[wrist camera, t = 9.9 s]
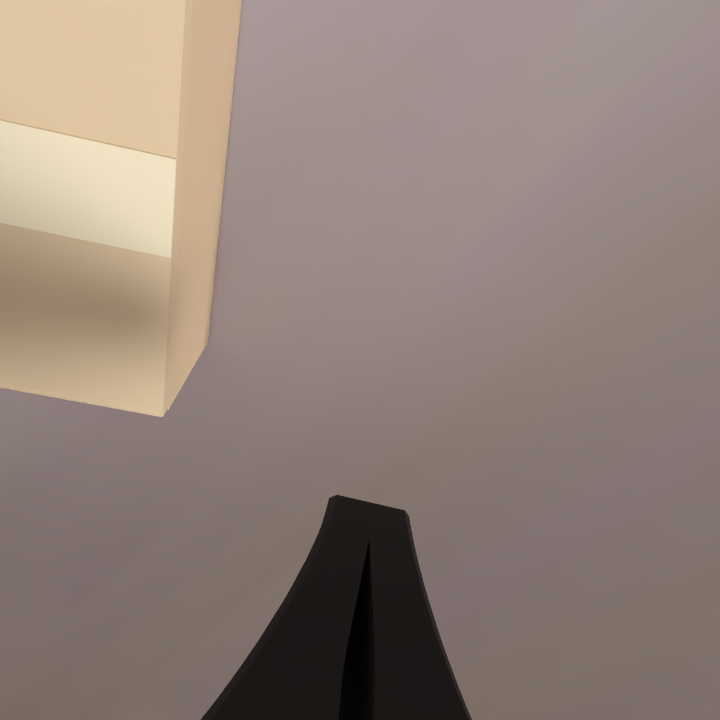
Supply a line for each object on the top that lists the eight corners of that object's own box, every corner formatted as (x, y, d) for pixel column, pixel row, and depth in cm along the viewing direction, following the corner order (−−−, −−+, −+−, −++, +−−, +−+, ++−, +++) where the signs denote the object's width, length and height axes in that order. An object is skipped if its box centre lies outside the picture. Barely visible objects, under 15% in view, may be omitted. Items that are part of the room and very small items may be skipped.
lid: (167, 406, 18) (162, 418, 18) (-65, 363, 18) (-77, 375, 17) (198, -127, 11) (191, -130, 11) (-182, -230, 11) (-208, -238, 10)
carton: (208, 340, 22) (167, 411, 18) (8, 293, 21) (-71, 355, 18) (253, -120, 15) (200, -141, 11) (-46, -200, 14) (-193, -247, 11)
